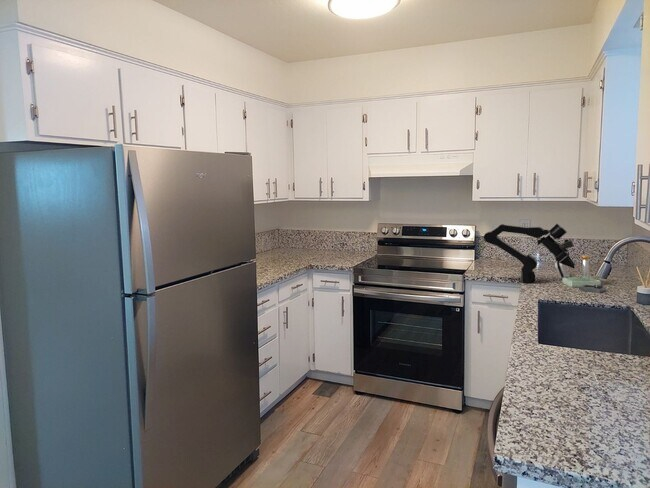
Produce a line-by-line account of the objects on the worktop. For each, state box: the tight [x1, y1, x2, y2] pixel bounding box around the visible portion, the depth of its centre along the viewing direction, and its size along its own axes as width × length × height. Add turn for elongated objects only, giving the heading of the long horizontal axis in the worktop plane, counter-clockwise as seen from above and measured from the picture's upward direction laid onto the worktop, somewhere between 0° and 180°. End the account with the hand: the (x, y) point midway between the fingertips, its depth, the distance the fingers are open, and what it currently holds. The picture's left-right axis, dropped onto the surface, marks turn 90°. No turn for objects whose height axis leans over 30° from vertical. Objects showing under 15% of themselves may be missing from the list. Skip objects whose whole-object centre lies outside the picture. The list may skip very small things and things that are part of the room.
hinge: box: [554, 261, 571, 279], centre depth 270 cm, size 17×5×10 cm, turn 151°
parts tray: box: [561, 276, 602, 288], centre depth 243 cm, size 14×12×3 cm
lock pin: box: [580, 254, 591, 281], centre depth 241 cm, size 4×4×15 cm
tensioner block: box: [578, 284, 607, 294], centre depth 228 cm, size 9×7×3 cm
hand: (574, 266), depth 243 cm, fingers open, 9 cm apart
